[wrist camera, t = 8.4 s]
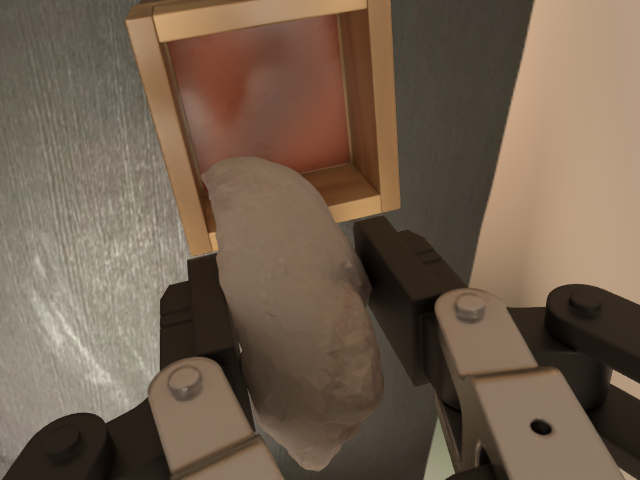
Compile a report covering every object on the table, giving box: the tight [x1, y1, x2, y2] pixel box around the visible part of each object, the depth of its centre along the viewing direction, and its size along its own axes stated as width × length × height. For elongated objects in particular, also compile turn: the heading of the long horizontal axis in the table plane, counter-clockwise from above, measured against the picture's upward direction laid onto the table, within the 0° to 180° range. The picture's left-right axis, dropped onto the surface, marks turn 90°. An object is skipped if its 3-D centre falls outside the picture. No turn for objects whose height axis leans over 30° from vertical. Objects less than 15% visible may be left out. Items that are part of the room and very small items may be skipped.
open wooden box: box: [125, 0, 400, 256], centre depth 23 cm, size 9×9×5 cm
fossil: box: [201, 156, 384, 471], centre depth 13 cm, size 6×4×10 cm, turn 13°
